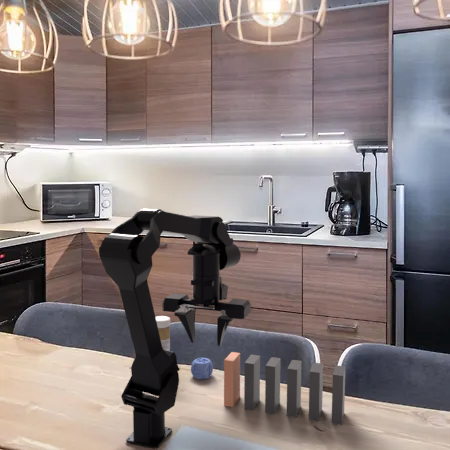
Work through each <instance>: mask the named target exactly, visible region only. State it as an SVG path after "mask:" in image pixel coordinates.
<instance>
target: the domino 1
mask: <svg viewBox="0 0 450 450" xmlns="http://www.w3.org/2000/svg"><path fill="white" fill-rule="evenodd" d="M240 397H241V353H240V352H235V351H231V352H230V353H229V354H228V355H227V357H225V358H224V360H223V406H225V407H231V408H233V407H234V406H235V404H236V403H237V402H238V400H239V399H240Z"/></svg>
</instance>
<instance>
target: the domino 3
mask: <svg viewBox="0 0 450 450" xmlns="http://www.w3.org/2000/svg"><path fill="white" fill-rule="evenodd" d="M264 381H265V383H264V384H265V386H264V387H265V390H264V393H265V395H264V397H265V398H264V404H265V406H264V412H265V413H267V414H273V415H275V414H276V412H277V410H278V408H279V406H280V403H281V357H276V356H274V357H273V356H271V357H270V359H268V362H267V363H266V364H265V379H264Z"/></svg>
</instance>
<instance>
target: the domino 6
mask: <svg viewBox="0 0 450 450" xmlns="http://www.w3.org/2000/svg"><path fill="white" fill-rule="evenodd" d="M346 368H347V367H346V366H345V365H336V364H335V366H334V369H333V373H332V388H331V389H332V391H331V392H332V394H331V421H330V422H331V424H332V425H333V424H334V425H338V424H340V426H342V425H343V422H344V417H343V416H344V415H345V401H346V400H345V396H346ZM342 421H343V422H342Z"/></svg>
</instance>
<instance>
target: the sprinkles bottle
mask: <svg viewBox="0 0 450 450" xmlns="http://www.w3.org/2000/svg"><path fill="white" fill-rule="evenodd" d="M155 318H156V322H157V326H158V331H159V335H160V340H161V344H162V347H163V349H164V350H168V351H171V337H170V335H171V334H170V328H171V318H170V317H169V316H166V315H158V316H155Z"/></svg>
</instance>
